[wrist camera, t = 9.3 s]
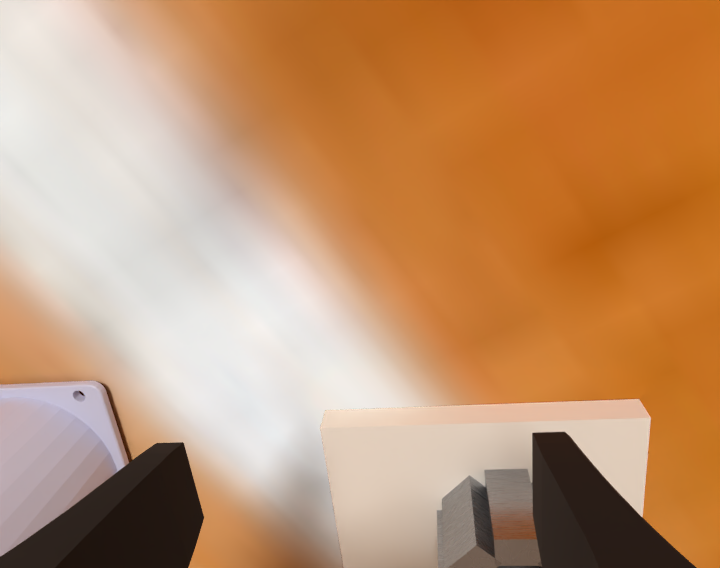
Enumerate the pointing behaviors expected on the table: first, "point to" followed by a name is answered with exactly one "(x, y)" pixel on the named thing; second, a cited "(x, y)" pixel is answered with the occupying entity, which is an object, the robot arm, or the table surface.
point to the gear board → (457, 465)
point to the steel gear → (488, 522)
